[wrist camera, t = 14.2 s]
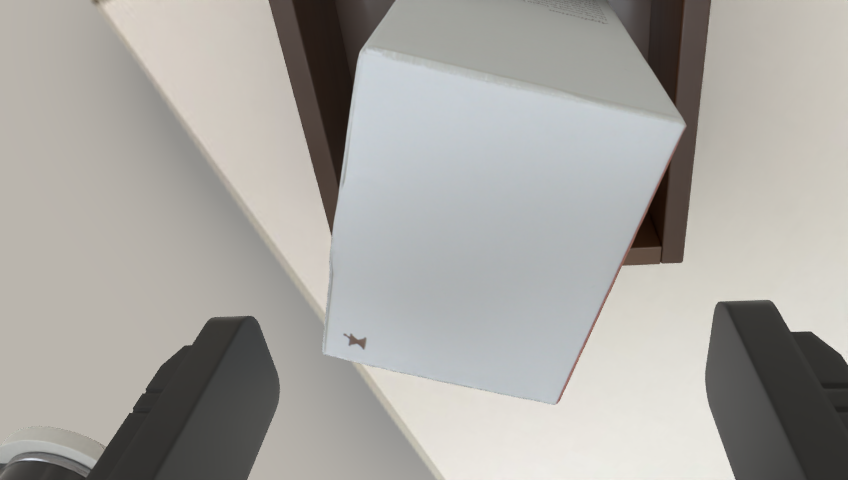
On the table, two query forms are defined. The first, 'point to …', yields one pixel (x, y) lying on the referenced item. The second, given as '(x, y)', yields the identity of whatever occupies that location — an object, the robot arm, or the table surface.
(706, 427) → the table surface
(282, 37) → the box
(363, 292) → the small box
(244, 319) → the robot arm
